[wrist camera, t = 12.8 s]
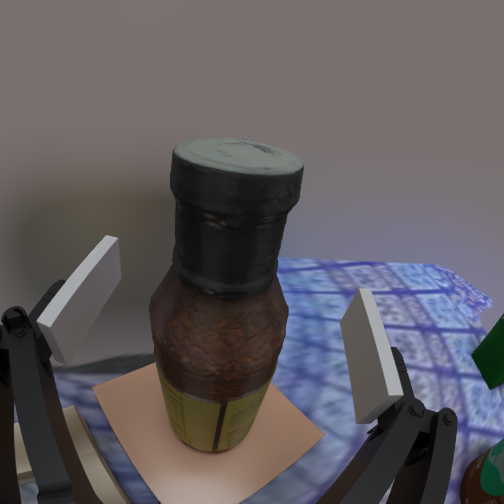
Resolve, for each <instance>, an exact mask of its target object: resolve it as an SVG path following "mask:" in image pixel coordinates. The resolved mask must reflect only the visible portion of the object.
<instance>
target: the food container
mask: <svg viewBox="0 0 504 504" xmlns="http://www.w3.org/2000/svg"><path fill="white" fill-rule="evenodd" d="M460 499H461V504H504V439H502V440H501V441H500V442H499V443H497V444H496V445H495V446H493V447H492V448H491V449H489V450H488V451H487V452H485V453H484V454H483V455H481V456H480V457H478V458H477V459H475V460H474V461H473V462H472V463H471V464H470V465H469V466H468V468H467V469H466V471H465V474H464V476H463V479H462V483H461V490H460Z"/></svg>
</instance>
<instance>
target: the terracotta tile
mask: <svg viewBox="0 0 504 504" xmlns="http://www.w3.org/2000/svg"><path fill="white" fill-rule="evenodd" d="M92 388H93V391H94V393H95V395H96V397H97V399H98V401H99V404H100V406H101V408H102V410H103V412H104V414H105V416H106V418H107V420H108V422H109V423H110V425H111V427H112V429H113V431H114V433H115V434H116V436H117V438H118V440H119V442H120V443H121V445H122V447H123V448H124V450H125V452H126V453H127V455H128V457H129V458H130V460H131V461H132V463H133V465H134V466H135V468H136V469H137V471H138V472H139V474H140V475H141V477H142V478H143V480H144V481H145V482H146V484H147V485H148V487H149V488H150V489H151V491H152V492H153V493H154V495H155V496H156V497H157V499H158V500H159V501H160V503H161V504H239V503H240V502H242V501H243V500H245V499H246V498H248V497H249V496H251V495H252V494H254V493H255V492H256V491H258V490H259V489H261V488H262V487H263V486H265V485H266V484H267V483H269V482H270V481H271V480H273V479H274V478H275V477H277V476H278V475H279V474H281V473H282V472H283V471H284V470H286V469H287V468H288V467H289V466H290V465H292V464H293V463H294V462H295V461H296V460H298V459H299V458H300V457H301V456H302V455H303V454H305V453H306V452H307V451H308V450H309V449H310V448H311V447H312V446H313V445H315V444H316V443H317V442H318V441H319V440H320V439H321V438H322V437H323V436H324V435H325V434H324V433H323V432H322V431H321V430H320V429H319V428H318V427H316V426H315V425H314V424H313V423H312V422H311V421H310V420H309V419H308V418H307V417H306V416H305V415H304V414H303V413H302V412H301V411H299V410H298V409H297V408H296V407H295V406H294V405H293V404H292V403H291V402H290V401H289V400H288V399H287V398H286V397H285V396H284V395H283V394H282V393H281V392H280V391H279V390H278V389H277V388H276V387H275V386H274V385H273V384H272V383H271V382H270V385H269V387H268V390H267V392H266V394H265V397H264V399H263V401H262V404H261V406H260V409H259V411H258V413H257V416H256V418H255V420H254V423H253V425H252V427H251V429H250V431H249V433H248V434H247V436H246V437H245V438H244V440H243V441H242V442H240V443H239V444H238V445H237V446H235V447H233V448H232V449H231V450H228V451H226V452H223V453H219V454H211V453H205V452H201V451H197V450H195V449H193V448H191V447H188V446H186V445H185V444H184V443H183V442H182V441H181V439H180V438H179V437H178V436H177V434H176V433H175V432H174V430H173V429H172V427H171V425H170V421H169V418H168V414H167V410H166V405H165V401H164V397H163V393H162V389H161V385H160V380H159V376H158V372H157V367H156V362H155V363H153V364H150V365H148V366H145V367H143V368H140V369H138V370H135V371H133V372H130V373H128V374H125V375H123V376H120V377H118V378H115V379H113V380H110V381H107V382H105V383H102V384H99V385H97V386H94V387H92Z"/></svg>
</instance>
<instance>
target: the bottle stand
mask: <svg viewBox="0 0 504 504" xmlns="http://www.w3.org/2000/svg"><path fill="white" fill-rule="evenodd" d="M62 410H63V414H64V417H65V420H66V423H67V426H68V429H69V432H70V435H71V438H72V440H73V443H74V446H75V448H76V451H77V454H78V456H79V458H80V461H81V463H82V466H83V468H84V470H85V472H86V475H87V477H88V479H89V481H90V483H91V485H92V487H93V489H94V491H95V493H96V495H97V496H98V497H99V499H100V500H101V501H102V502H103V504H133V503H132V502H131V500H130V499H129V498H128V496H127V495H126V493H125V492H124V490H123V489H122V487H121V486H120V484H119V482H118V481H117V479H116V478H115V476H114V474H113V473H112V471H111V469H110V468H109V466H108V464H107V463H106V461H105V459H104V457H103V455H102V454H101V452H100V450H99V448H98V446H97V444H96V442H95V440H94V438H93V436H92V434H91V432H90V430H89V428H88V426H87V424H86V422H85V419H84V418H83V417H82V416H81V414H80V413H79V412H78V410H77V409H76V408H75V406H74V405H72V406H69V407H66V408H63V409H62ZM14 443H15V458H16V469H17V477H18V484H19V485H24V484H29V483H33V482H36V480H35V478H34V475H33V472H32V469H31V466H30V463H29V460H28V456H27V453H26V450H25V446H24V442H23V438H22V435H21V430H20V426H19V422H18V423H15V424H14Z"/></svg>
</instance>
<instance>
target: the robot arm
mask: <svg viewBox="0 0 504 504" xmlns="http://www.w3.org/2000/svg"><path fill="white" fill-rule="evenodd" d="M121 278H122V277H121V267H120V256H119V243H118V238H116V237H111V236H105V238H104V239H103V240H102V241H101V242H100V243H99V244H98V245H97V246H96V247H95V248H94V249H93V251H92V252H91V253H90V254H89V255H88V256H87V257H86V259H85V260H84V261H83V262H82V263H81V264H80V266H79V267H78V268H77V269H76V270H75V272H74V273H73V274H72V275H71V276H70V278H69V279H68V280H67V281H64V280H59V281H57V282H56V283H55V284H53V285H52V286H51V287H50V289H49V290H48V291H47V293H46V294H45V295H44V296H43V297H42V299H41V300H40V301H39V302H38V304H37V305H36V306H35V308H34V309H33V310H32V311H31V313H30V314H29V316H27V314H26V311H25V310H24V309H23V308H22V307H19V306H15V307H14V306H13V307H11V308H9V309H7V310H6V311H5V312H4V314H3V316H2V319H1V321H2V323H3V325H0V504H21V497H20V491H19V484H18V477H17V469H16V458H15V443H14V401H15V406H16V412H17V417H18V422H19V426H20V430H21V435H22V438H23V442H24V446H25V450H26V453H27V456H28V460H29V463H30V466H31V469H32V472H33V475H34V478H35V480H36V483H37V486H38V489H39V493H38V495H37V500H38V504H103V502H102V501H101V500H100V499H99V497H98V496H97V495H96V493H95V491H94V489H93V487H92V485H91V483H90V481H89V479H88V477H87V475H86V472H85V470H84V468H83V466H82V463H81V461H80V458H79V456H78V454H77V451H76V448H75V446H74V443H73V440H72V438H71V435H70V432H69V429H68V426H67V423H66V420H65V417H64V414H63V410H62V407H61V403H60V400H59V396H58V392H57V388H56V384H55V380H54V375H53V371H52V366H51V362H50V360H49V358H50V356H51V355H52V354H53V356H54V358H55V360H56V361H58V362H60V363H62V364H64V365H67V366H69V365H70V363H71V362H72V360H73V358H74V356H75V354H76V352H77V351H78V349H79V347H80V345H81V343H82V342H83V340H84V338H85V336H86V335H87V333H88V331H89V329H90V328H91V326H92V324H93V323H94V321H95V319H96V318H97V316H98V314H99V312H100V311H101V309H102V308H103V306H104V305H105V303H106V301H107V300H108V298H109V296H110V295H111V293H112V292H113V290H114V289H115V287H116V286H117V284H118V283H119V281H120V279H121ZM340 326H341V331H342V336H343V342H344V347H345V352H346V358H347V364H348V370H349V376H350V382H351V388H352V395H353V402H354V409H355V417H356V424H370V423H372V422H373V421H374V420H375V419H377V420H378V424H377V425H376V426H375V427H374V428H372V429H371V430H370V431H368V432H367V434H370V433H371V434H370V435H369V437H368V438H367V440H366V441H365V443H364V444H363V445H362V447H361V448H360V450H359V451H358V452H357V454H356V455H355V457H354V458H353V459H352V461H351V462H350V463H349V465H348V466H347V467H346V469H345V470H344V471H343V472H342V474H341V475H340V476H339V477H338V479H337V480H336V481H335V482H334V483H333V485H332V486H331V487H330V488H329V489H328V490H327V492H326V493H325V494H324V495H323V496H322V497H321V498H320V499H319V501H318V502H317V503H316V504H379V502H380V501H381V499H382V498H383V496H384V495H385V493H386V492H387V490H388V488H389V487H390V485H391V484H392V482H393V480H394V479H395V480H394V483H393V486H392V489H391V491H390V494H389V497H388V500H387V502H386V504H444V501H445V497H446V493H447V489H448V485H449V480H450V475H451V469H452V464H453V457H454V451H455V443H456V434H457V423H458V422H457V416H456V414H455V413H454V411H453V410H451V409H450V408H443V409H441V410H440V411H439V412H434V411H431V410H427V409H426V408H425V406H424V404H423V403H422V402H421V401H420V400H418V399H416V398H415V397H414V393H413V390H412V386H411V383H410V379H409V376H408V373H407V369H406V366H405V363H404V360H403V357H402V355H401V353H400V352H399V350H398V349H397V347H390V345H389V342H388V339H387V335H386V332H385V329H384V326H383V323H382V320H381V317H380V315H379V312H378V309H377V306H376V303H375V300H374V298H373V295H372V292H371V290H367V289H362V288H359V289H358V291H357V292H356V294H355V296H354V298H353V300H352V302H351V304H350V305H349V307H348V309H347V311H346V313H345V314H344V316H343V318H342V320H341V321H340Z"/></svg>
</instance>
